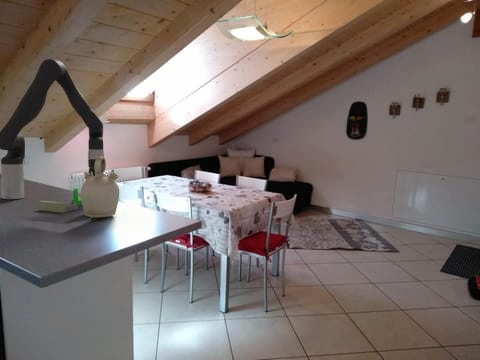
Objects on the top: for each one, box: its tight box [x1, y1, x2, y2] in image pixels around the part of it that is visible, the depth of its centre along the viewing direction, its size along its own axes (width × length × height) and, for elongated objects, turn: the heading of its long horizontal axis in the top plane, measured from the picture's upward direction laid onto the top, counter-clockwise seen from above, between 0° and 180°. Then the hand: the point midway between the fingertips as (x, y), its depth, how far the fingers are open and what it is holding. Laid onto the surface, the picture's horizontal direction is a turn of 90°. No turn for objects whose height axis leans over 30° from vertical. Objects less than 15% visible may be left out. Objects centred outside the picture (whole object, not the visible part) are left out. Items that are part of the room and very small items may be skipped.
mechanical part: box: [72, 187, 82, 206], centre depth 173 cm, size 12×6×8 cm, turn 24°
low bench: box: [38, 200, 79, 214], centre depth 155 cm, size 13×9×4 cm
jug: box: [80, 156, 120, 218], centre depth 147 cm, size 15×16×25 cm
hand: (96, 192), depth 178 cm, fingers closed
